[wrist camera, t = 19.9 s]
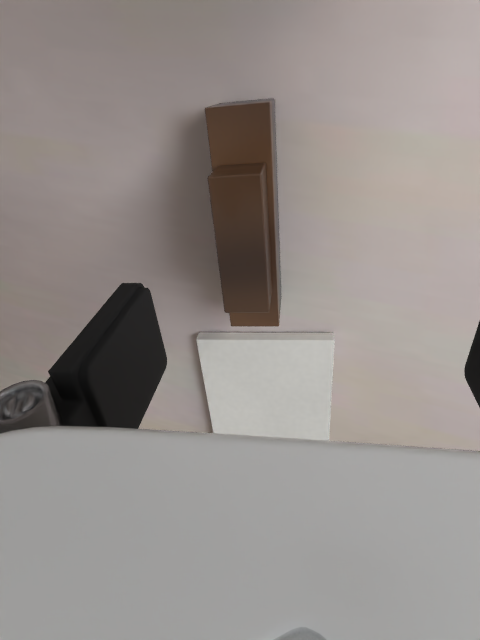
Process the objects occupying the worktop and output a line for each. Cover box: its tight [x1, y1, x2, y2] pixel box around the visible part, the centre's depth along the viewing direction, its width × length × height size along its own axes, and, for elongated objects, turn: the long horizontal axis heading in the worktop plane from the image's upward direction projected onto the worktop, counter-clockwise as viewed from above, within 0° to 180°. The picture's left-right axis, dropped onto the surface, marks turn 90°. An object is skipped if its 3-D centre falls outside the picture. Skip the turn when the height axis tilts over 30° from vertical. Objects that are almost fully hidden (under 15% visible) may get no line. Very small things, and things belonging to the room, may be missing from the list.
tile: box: [196, 332, 335, 441], centre depth 31 cm, size 14×10×1 cm
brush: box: [205, 98, 281, 326], centre depth 21 cm, size 12×3×6 cm, turn 5°
